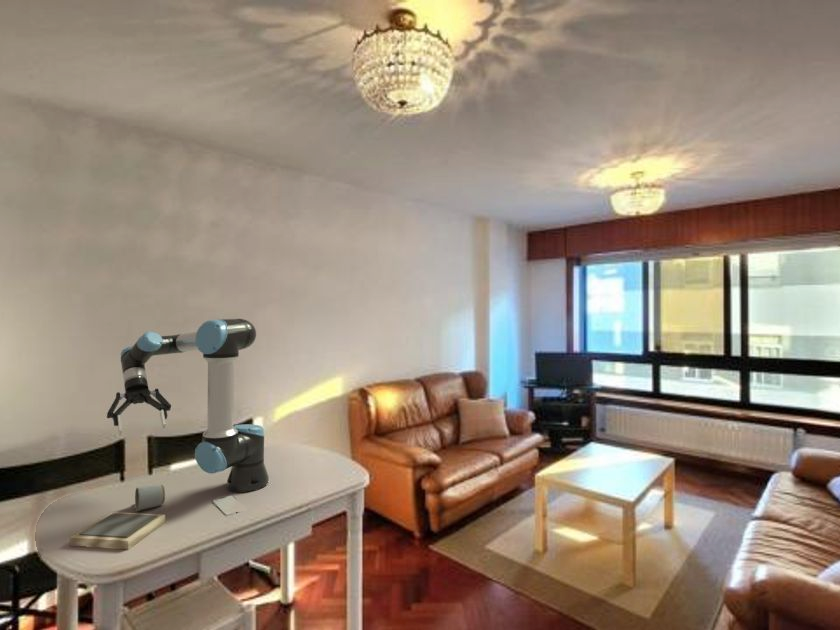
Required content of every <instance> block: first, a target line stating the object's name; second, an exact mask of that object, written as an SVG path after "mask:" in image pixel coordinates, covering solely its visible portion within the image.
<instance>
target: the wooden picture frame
mask: <svg viewBox="0 0 840 630" xmlns="http://www.w3.org/2000/svg"><path fill="white" fill-rule="evenodd" d="M165 523H166V514H155V513H140V512H139V513H137V512H122V511H121V512H119V511H112V512H110V513H108V514H107V515H105V516H103V517H102V518H100V519H98V520H97V521H95V522H94V523H91V524H90V525H88V526H87V527H85V528H83V529H82V530H80V531H78V532H77V533H75V534H73V535H72V536H70V537H69V546H70V545H72V546H71V547H74V546H73V545H76V546H75V547H79V546H86V547H85V548H94V549H95V548H98V549H114V550H126V551H127V550H131V549H132V547H134V546H135V545H137V544H138V543H140V542H141V541H142V540H144V539H145V538H146V537H148V536H149V535H150V534H152V533H153V532H154V531H156V530H157V529H159V528H160V527H161V526H163V525H164V524H165Z"/></svg>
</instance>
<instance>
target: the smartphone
mask: <svg viewBox="0 0 840 630" xmlns="http://www.w3.org/2000/svg"><path fill="white" fill-rule="evenodd" d="M237 500H238V499H237V497H235V496H234V495H232V494H231V495H227V496H223V497H219V498H215V499H213V500H212V501H211V503H212V502H213V503H214V504H213V503H212V504H213V505H214V506H215V507H216V506H217V507H218V508H219V509H220V510H221V511H222V512H223V513H224V514H225V515H229V516H231V515H230V514H232V513H230V512H229V510H228V509H231V506H233V505H232V504H234V503H235V502H234V501H236V502H237ZM217 507H216V508H217ZM218 508H217V509H218ZM219 509H218V510H219ZM224 509H225V510H227V511H228V512H225V510H224ZM220 510H219V511H220ZM221 511H220V512H221ZM222 512H221V513H222ZM223 513H222V514H223ZM224 514H223V515H224ZM225 515H224V516H225ZM232 515H233V514H232Z"/></svg>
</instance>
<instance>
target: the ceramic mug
mask: <svg viewBox="0 0 840 630" xmlns="http://www.w3.org/2000/svg"><path fill="white" fill-rule="evenodd" d="M165 491H166V490H165V486H164V485H163V484H159V483H157V484H152V485H151V484H150V485H144V486H138V487H136V488H135V494H134V503H135V510H136V512H140V511H144V510H147V509H152V508H156V507H159V506H161V505H163V504H164V503H165V500H166V492H165Z"/></svg>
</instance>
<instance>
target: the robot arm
mask: <svg viewBox="0 0 840 630" xmlns="http://www.w3.org/2000/svg"><path fill="white" fill-rule="evenodd" d="M256 338H257V330H256V328H255V325H254V324H253V323H252V322H250V321H249V320H247V319H243V318H226V319H225V318H223V319H220V318H217V319H211V320H207V321H205V322H203V323H202V324H201V325H200V326H199V327H198V328H197V330H196V331H193V332H186V333H180V334H173V335H162V336H161V335H160V334H159V333H157V332H154V331H146V332H145V333H142V335H141V336H140V337H139V338H138V339H137V340H136V342H135V344H134V345H132V346H128V347H126V348H123V349H122V351H121V352H120V363H121V369H122V375H123V384H124V392H125V393H120V392H119V391H117V392H116V394H115V398H114V401H113V402H112V404H111V405H110V407H109V409H108V411H107V413H106V418H107V419H110V418H111V419H112V420H113V426H114V427H117V432H118V435H119V436H121V435H122V433H123V427H122V426H123V425H122V420H121V419H122V418H121V414H122V413H123V412H124V411H125V410H126V409H127V408H128V407H130V405H131V404H133V405H137V404H143V403H145V404H147V405H150V406H152V407H153V408H154V409H156V410H158V411H159V417H160V422H161V427H162V429H165V428H166V425H167V423H166V420H167V419H168V412H169V411H171V408H172V404H170V402H169V401H168V400H167V399H166V398H165V397H164V396H163V395H162V393H160V391H159V388H155V389H154V390H150V389H149V383H148V377H147V372H146V367H145V365H146V363H147V362H148V361H149V360H150V359H151V358H152V357H153V356H161V355H168V354H169V355H171V354H182V353H183V354H184V353H186V352H193V351H199V352H200V353H202V358H203V359H204V360H205V361H206V362H207V429H206V430H205V431H204V432H203V433H202V441H201V442H200V443H198V444H197V446H196V447H195V450H194V458H195V461H196V465H198V466H199V468H200V469H201V470H202V471H204V472H205V473H207V474H217V473H219V472H224V471H225V470H227V469H229V468H230V471H229V475H228V476H227V479H226V488H227V490H229V491H231V492H234V493H246V492H247V491H249V492H253V491H252V490H254V491H257V490H256V489H258V490H260V489H259V488H261V487H263V486H265V485H266V484H267V483H268V484H269V482H268V481H269V480H270V479H269V478H270V477H269V474H268V470H267V468H266V466H265V433H264V432H265V429H264V427H263V426H261V425H259V424H250V423H249V424H248V423H247V424H246V423H244V424H235V425H234V423H235V422H234V418H235V417H234V415H235V414H234V410H235V409H234V406H235V405H234V404H235V402H234V400H235V399H234V396H235V395H234V394H235V389H234V388H235V384H234V383H235V379H234V378H235V361H236V360H237V359H238V358H239V354H240V352H239V351H241V350H244V349H247V348H249V347H251V346H252V345H253V344H254V342H255V341H256ZM153 397H155V399H154V398H153ZM123 398H124V399H125V401H124V402H123V403H122V404H121V405H120V406H119V403H120V401H122V400H123ZM118 406H119V407H118ZM117 407H118V408H117ZM116 408H117V410H116ZM115 410H116V411H115ZM268 484H267V485H268ZM267 485H266V486H267ZM266 486H265V487H266ZM263 488H264V487H263ZM261 489H262V488H261ZM247 493H248V492H247Z"/></svg>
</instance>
